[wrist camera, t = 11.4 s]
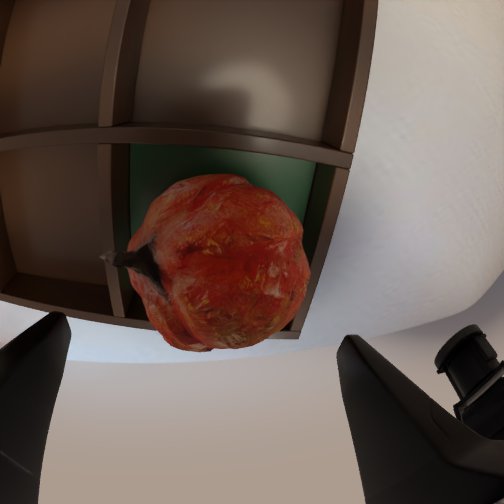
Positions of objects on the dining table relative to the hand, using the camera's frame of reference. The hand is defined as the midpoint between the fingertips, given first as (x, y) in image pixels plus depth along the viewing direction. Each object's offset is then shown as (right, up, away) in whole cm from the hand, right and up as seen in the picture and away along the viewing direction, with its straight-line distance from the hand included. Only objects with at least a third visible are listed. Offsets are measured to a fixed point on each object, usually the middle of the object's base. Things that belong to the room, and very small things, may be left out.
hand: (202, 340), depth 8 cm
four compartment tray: (-5, +9, +4) cm, 11 cm away
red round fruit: (0, +4, +7) cm, 8 cm away
